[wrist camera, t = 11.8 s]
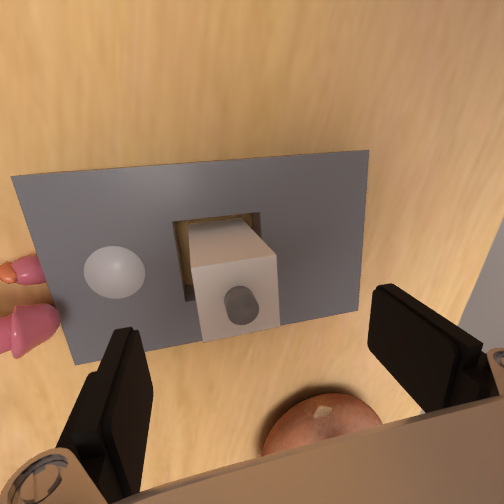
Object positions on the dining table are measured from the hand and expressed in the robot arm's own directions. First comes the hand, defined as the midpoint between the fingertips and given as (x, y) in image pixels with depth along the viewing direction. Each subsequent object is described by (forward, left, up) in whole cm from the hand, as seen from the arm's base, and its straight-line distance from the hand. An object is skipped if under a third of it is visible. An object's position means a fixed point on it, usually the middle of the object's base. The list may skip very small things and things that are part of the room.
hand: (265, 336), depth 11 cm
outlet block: (0, +1, -14) cm, 14 cm away
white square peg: (0, +1, -14) cm, 14 cm away
